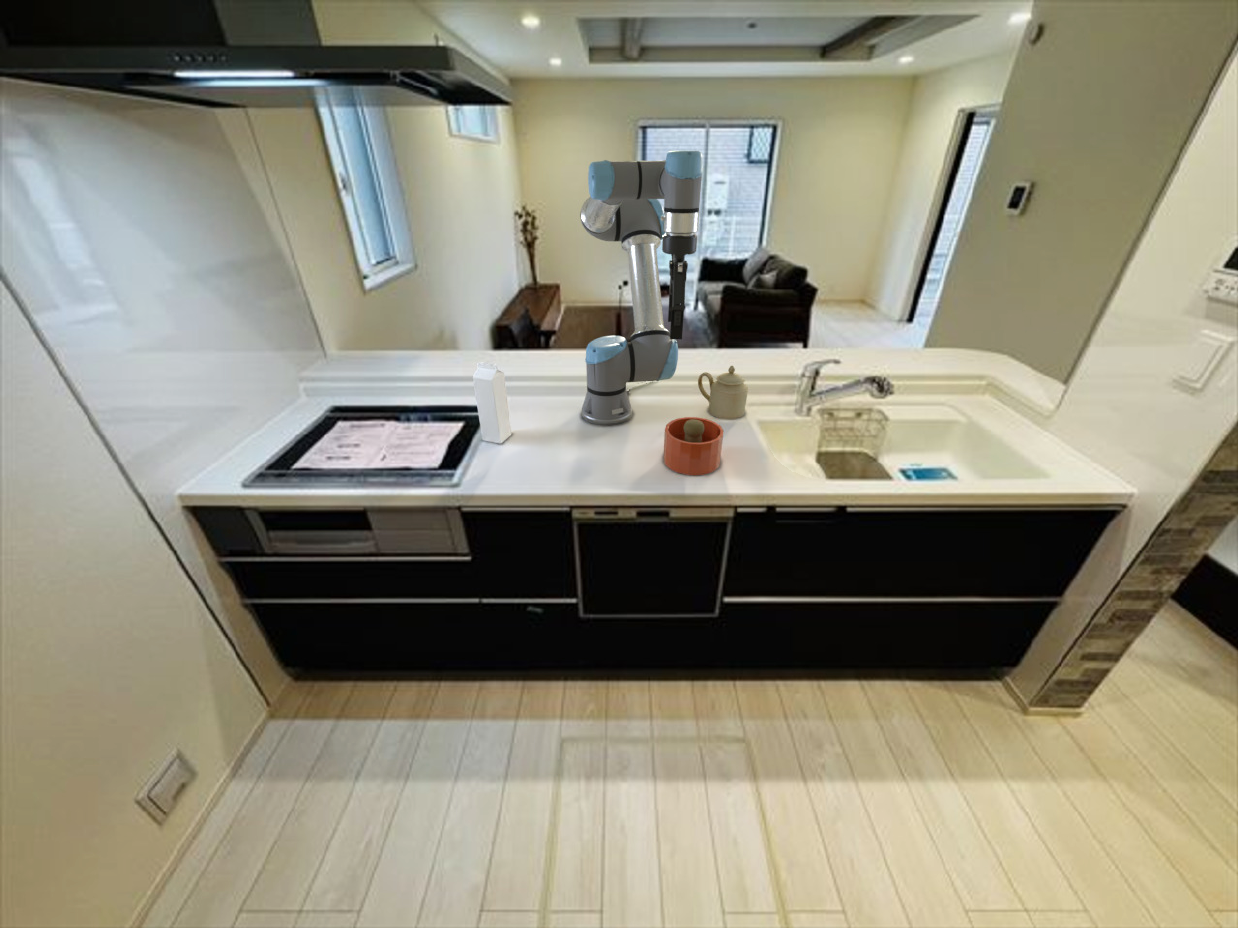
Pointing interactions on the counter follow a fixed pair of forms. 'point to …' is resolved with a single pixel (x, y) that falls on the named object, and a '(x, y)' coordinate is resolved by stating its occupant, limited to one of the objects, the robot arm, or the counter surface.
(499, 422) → the milk
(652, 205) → the robot arm
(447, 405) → the counter surface
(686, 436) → the cork
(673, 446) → the pot
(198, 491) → the counter surface
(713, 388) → the beige ceramic rounded vessel
